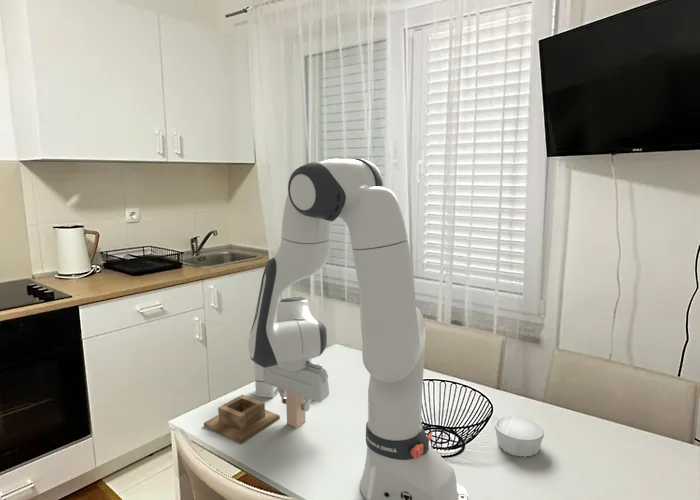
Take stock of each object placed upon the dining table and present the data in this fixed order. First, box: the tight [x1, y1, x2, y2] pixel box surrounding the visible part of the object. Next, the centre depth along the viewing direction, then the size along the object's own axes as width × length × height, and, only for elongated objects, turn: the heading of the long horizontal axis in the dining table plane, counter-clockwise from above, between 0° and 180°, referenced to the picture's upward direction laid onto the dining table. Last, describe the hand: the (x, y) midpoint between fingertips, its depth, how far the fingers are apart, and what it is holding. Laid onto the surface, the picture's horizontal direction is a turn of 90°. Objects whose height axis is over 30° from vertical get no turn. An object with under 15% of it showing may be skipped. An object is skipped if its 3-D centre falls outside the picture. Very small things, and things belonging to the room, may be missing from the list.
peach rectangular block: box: [285, 391, 306, 428], centre depth 125 cm, size 4×4×12 cm
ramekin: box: [494, 415, 545, 458], centre depth 115 cm, size 11×11×5 cm
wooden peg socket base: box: [203, 394, 281, 444], centre depth 126 cm, size 14×14×5 cm
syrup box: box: [253, 361, 279, 399], centre depth 141 cm, size 6×6×14 cm
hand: (295, 406), depth 125 cm, fingers open, 5 cm apart
